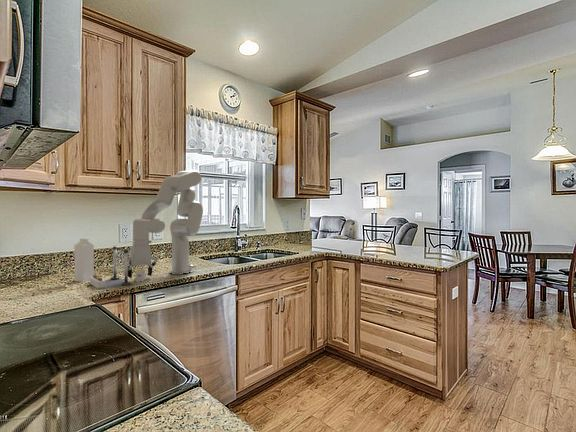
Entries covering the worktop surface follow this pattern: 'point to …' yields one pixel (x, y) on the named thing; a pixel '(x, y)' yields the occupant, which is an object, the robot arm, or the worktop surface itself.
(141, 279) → the power adapter
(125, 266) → the cord post
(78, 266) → the milk
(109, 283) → the mat
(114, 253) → the cord post
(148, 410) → the worktop surface
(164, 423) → the worktop surface
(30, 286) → the worktop surface
